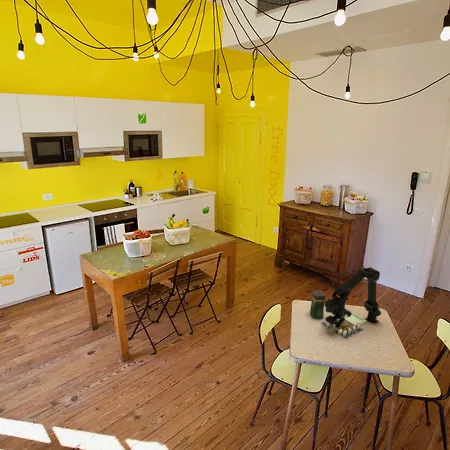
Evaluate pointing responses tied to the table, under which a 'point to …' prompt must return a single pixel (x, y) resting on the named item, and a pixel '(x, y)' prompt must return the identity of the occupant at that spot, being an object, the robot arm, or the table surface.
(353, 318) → the tray
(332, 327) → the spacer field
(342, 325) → the gear
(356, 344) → the table surface
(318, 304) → the coffee jar
